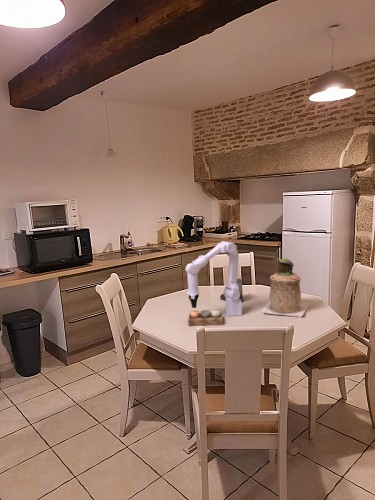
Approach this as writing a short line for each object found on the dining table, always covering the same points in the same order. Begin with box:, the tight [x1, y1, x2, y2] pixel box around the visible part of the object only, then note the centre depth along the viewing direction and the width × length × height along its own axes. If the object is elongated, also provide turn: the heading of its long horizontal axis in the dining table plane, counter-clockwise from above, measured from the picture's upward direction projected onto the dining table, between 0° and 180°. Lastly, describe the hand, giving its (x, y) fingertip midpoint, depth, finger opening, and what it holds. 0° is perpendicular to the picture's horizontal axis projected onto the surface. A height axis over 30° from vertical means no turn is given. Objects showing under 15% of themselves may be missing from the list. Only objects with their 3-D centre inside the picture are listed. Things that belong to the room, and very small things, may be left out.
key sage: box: [211, 309, 221, 318], centre depth 200 cm, size 5×5×4 cm
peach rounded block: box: [190, 310, 200, 318], centre depth 201 cm, size 5×5×4 cm
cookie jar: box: [260, 258, 309, 318], centre depth 211 cm, size 25×25×32 cm
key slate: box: [200, 309, 210, 318], centre depth 201 cm, size 5×5×4 cm
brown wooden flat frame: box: [187, 311, 224, 327], centre depth 201 cm, size 19×12×3 cm, turn 86°
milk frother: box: [219, 278, 244, 303], centre depth 236 cm, size 14×16×15 cm
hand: (194, 307), depth 200 cm, fingers closed
